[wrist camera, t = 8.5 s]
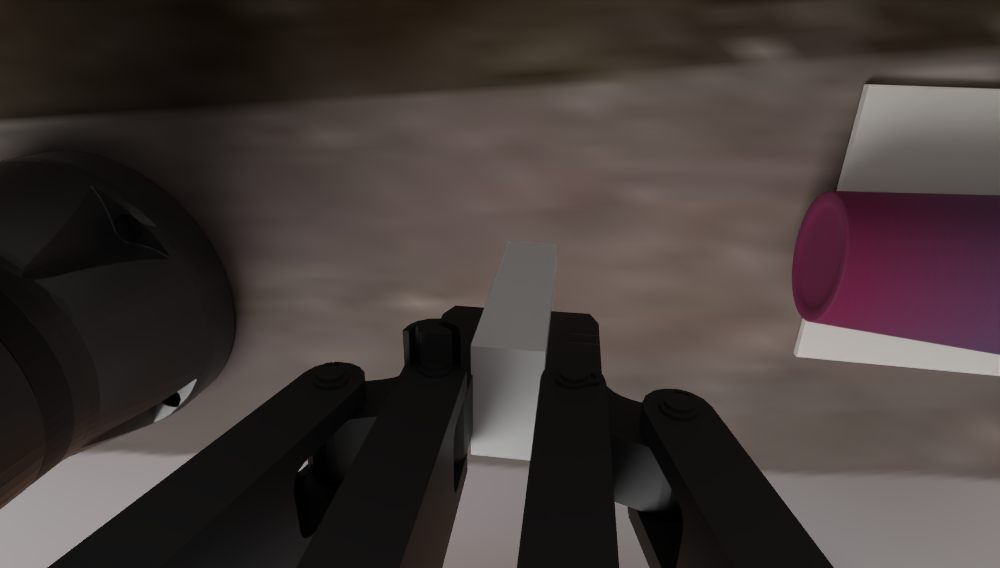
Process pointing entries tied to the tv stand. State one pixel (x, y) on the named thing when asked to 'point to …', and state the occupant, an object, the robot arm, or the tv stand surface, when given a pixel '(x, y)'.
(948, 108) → the mat
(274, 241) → the tv stand surface
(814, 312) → the cup
